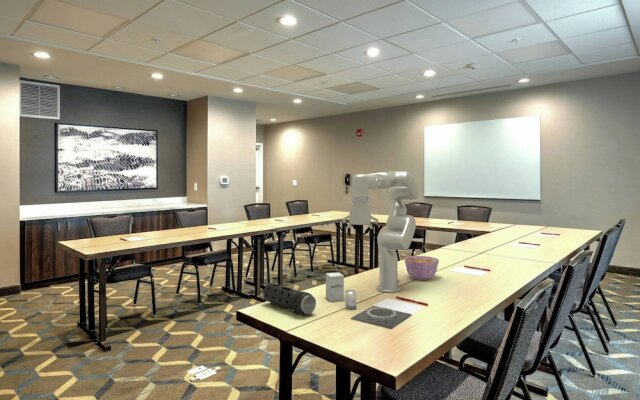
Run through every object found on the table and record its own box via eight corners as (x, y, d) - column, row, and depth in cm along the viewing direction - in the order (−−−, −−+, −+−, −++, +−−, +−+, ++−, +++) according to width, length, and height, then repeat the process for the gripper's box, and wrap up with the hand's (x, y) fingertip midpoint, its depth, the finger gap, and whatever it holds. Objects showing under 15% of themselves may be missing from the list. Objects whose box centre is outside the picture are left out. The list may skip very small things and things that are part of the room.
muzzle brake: (278, 301, 192) (278, 280, 191) (317, 314, 171) (317, 291, 171) (262, 305, 185) (262, 284, 185) (301, 320, 165) (301, 296, 164)
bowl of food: (398, 275, 237) (397, 257, 237) (426, 273, 243) (426, 254, 243) (415, 284, 218) (415, 263, 218) (445, 281, 224) (446, 261, 223)
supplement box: (329, 302, 189) (329, 276, 188) (325, 297, 196) (325, 272, 195) (344, 300, 191) (344, 275, 190) (339, 296, 198) (339, 271, 197)
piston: (349, 305, 183) (349, 289, 182) (358, 307, 180) (358, 290, 179) (343, 308, 179) (343, 291, 178) (352, 310, 176) (352, 293, 175)
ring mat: (373, 307, 180) (373, 302, 180) (411, 315, 169) (411, 310, 169) (350, 319, 165) (350, 314, 165) (391, 329, 154) (391, 323, 154)
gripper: (378, 200, 186) (378, 236, 186) (342, 200, 188) (342, 235, 189) (378, 201, 179) (378, 238, 179) (341, 200, 181) (340, 237, 181)
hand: (359, 236), depth 184 cm, fingers open, 9 cm apart
